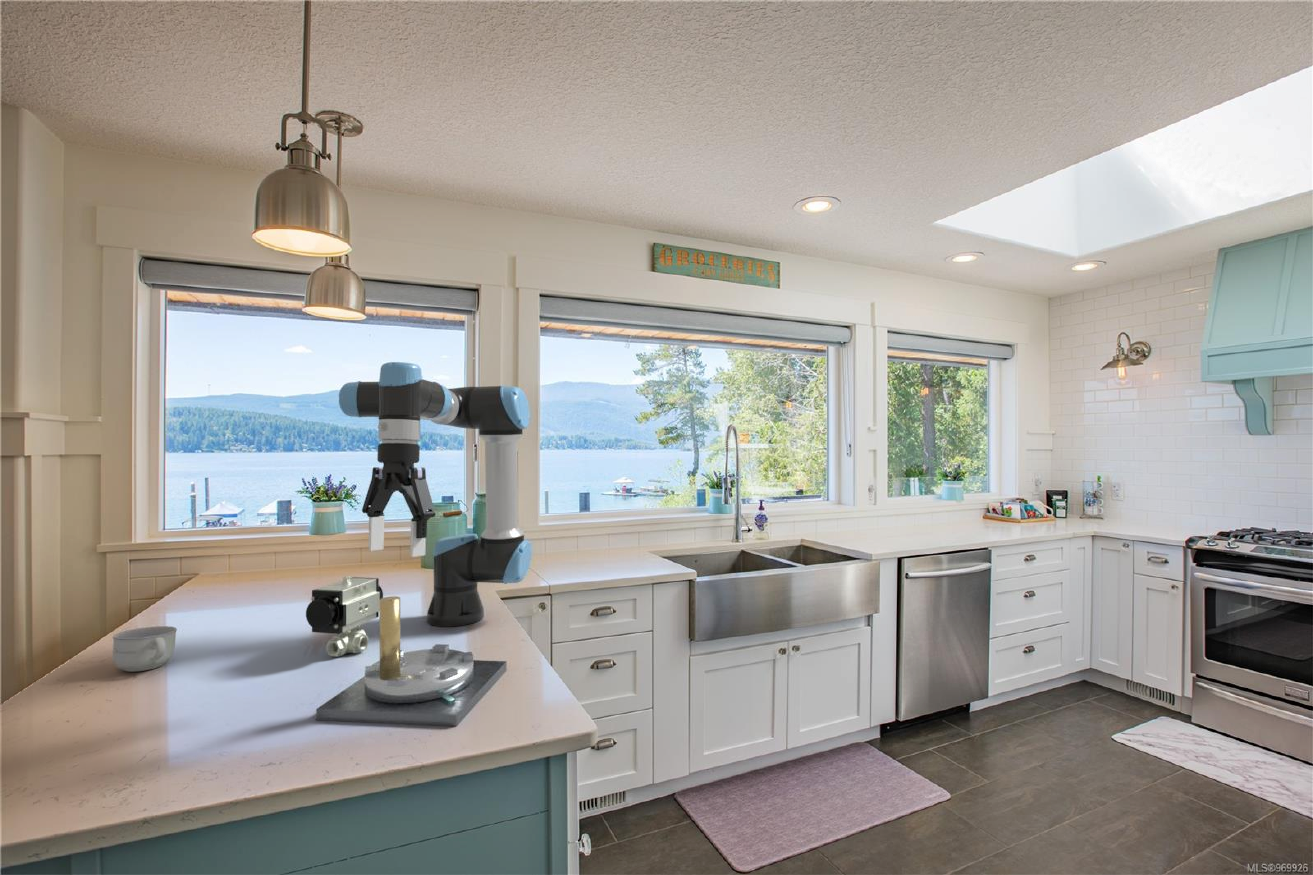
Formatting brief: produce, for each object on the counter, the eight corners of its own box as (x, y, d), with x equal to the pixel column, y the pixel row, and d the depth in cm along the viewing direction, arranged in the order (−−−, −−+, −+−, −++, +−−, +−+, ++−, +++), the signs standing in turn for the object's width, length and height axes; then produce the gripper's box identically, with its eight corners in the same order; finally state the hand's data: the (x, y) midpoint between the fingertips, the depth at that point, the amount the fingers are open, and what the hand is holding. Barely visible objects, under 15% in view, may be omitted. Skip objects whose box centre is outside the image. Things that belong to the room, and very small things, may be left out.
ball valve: (337, 667, 135) (337, 586, 136) (304, 664, 137) (304, 584, 137) (389, 640, 153) (388, 569, 153) (358, 638, 155) (358, 568, 155)
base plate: (392, 666, 136) (392, 654, 136) (506, 670, 133) (506, 658, 133) (316, 720, 110) (316, 705, 110) (456, 726, 108) (456, 711, 108)
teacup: (109, 667, 136) (109, 631, 136) (171, 654, 143) (171, 620, 143) (118, 684, 126) (118, 645, 126) (184, 670, 134) (184, 633, 134)
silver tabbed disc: (398, 661, 133) (398, 579, 133) (488, 664, 131) (488, 581, 131) (342, 700, 113) (342, 604, 113) (447, 705, 111) (447, 606, 111)
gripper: (345, 443, 123) (342, 549, 122) (421, 440, 109) (418, 561, 108) (380, 444, 129) (377, 545, 128) (456, 442, 115) (454, 556, 114)
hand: (396, 553), depth 118 cm, fingers open, 13 cm apart
